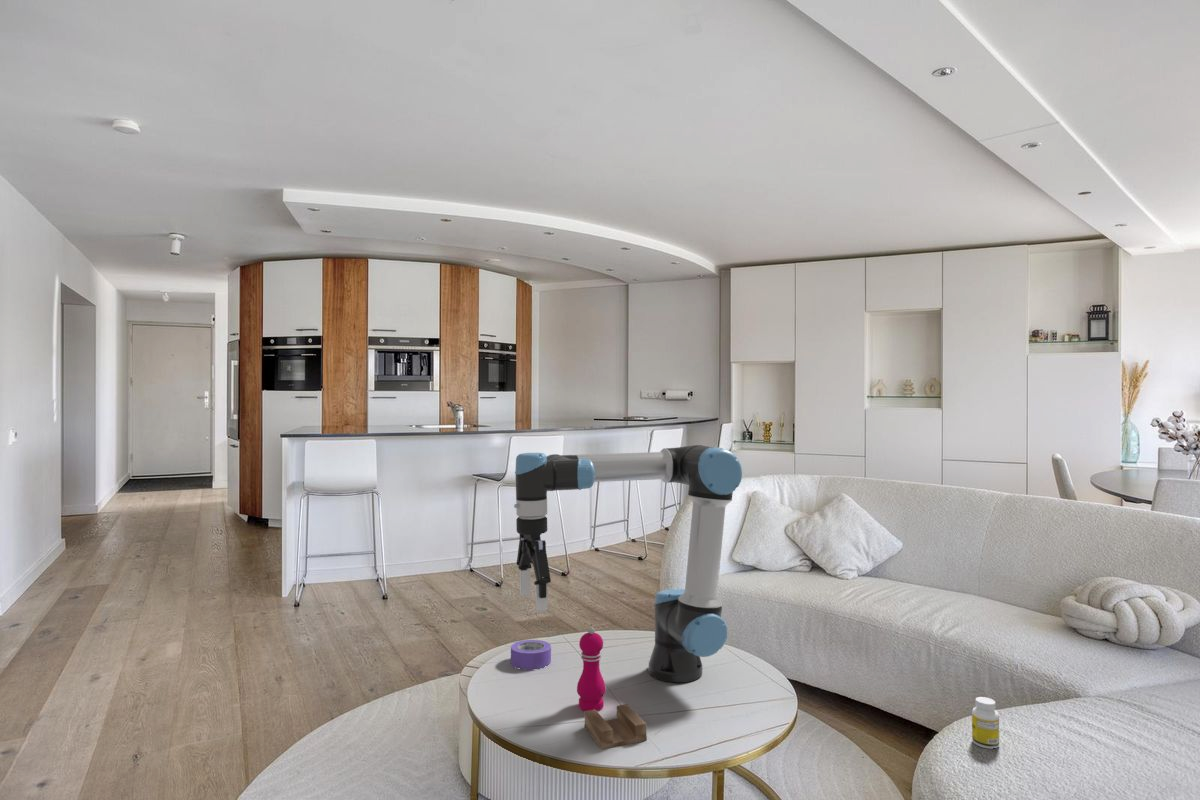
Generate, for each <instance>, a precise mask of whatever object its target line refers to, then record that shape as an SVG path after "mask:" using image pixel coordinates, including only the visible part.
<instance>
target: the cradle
mask: <svg viewBox="0 0 1200 800" xmlns="http://www.w3.org/2000/svg"><path fill="white" fill-rule="evenodd" d="M583 726H584V729H585V730H586V731H587V732H588V735H590V736H591V738H592V739H593V741H595V743H596V744H597V745H598V747H599V748H600V749H602V750H604V749H608V748H614V747H618V746H619V747H620V746H623V745H624V746H625V745H629V744H634V743H639V742H644V741H647V740H648V739H647V738H648V737H647V722H646V721H644V720H643V718H642V717H641V716H640V715H638V714H637V713H636V711H635V710H634V709H633V708H631V706H630V705H628V703H626V704H620V705H619V704H618V705H616V718H609V719H604V717H603V716H602V715H601V714H600V713H599V711H596V710H589V711H584V725H583Z"/></svg>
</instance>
